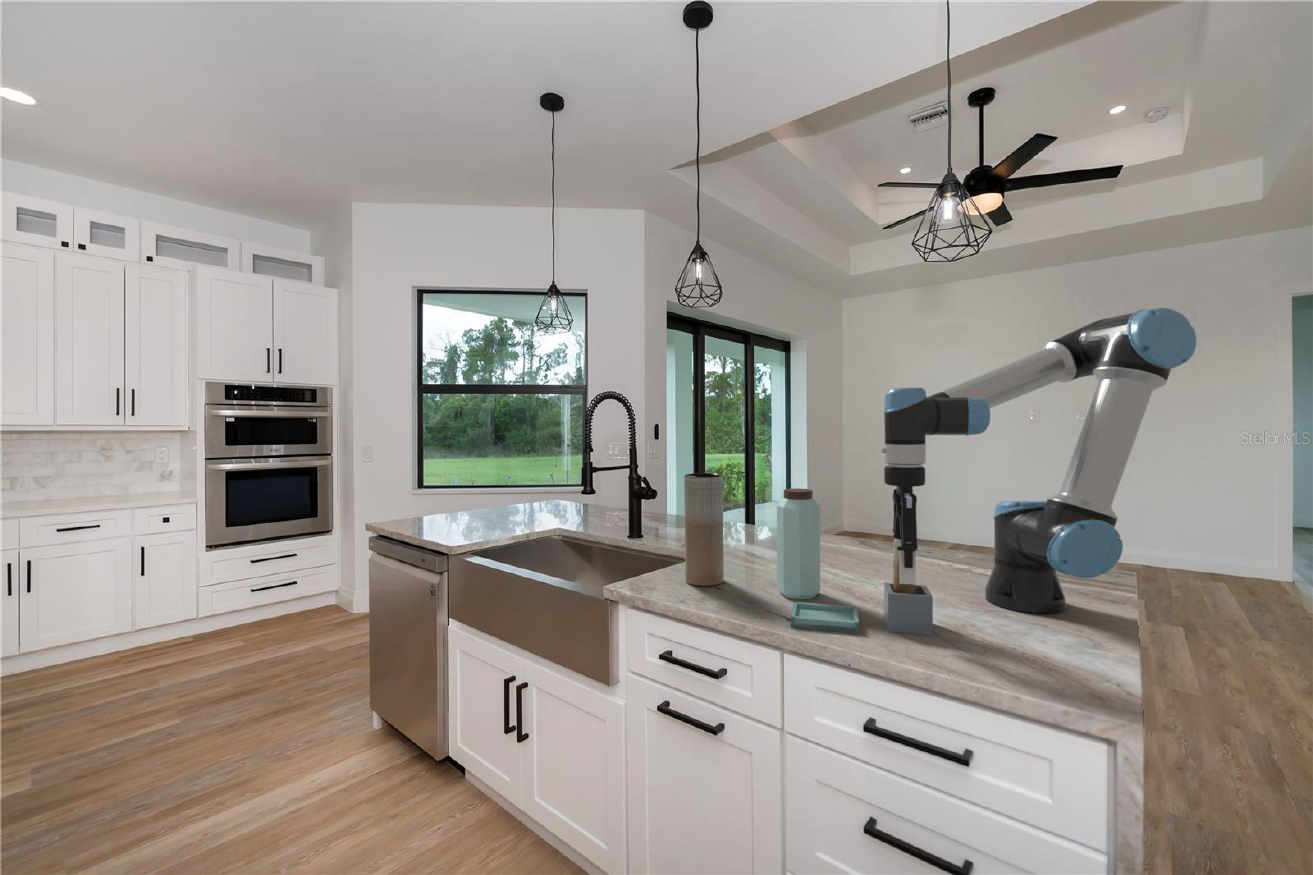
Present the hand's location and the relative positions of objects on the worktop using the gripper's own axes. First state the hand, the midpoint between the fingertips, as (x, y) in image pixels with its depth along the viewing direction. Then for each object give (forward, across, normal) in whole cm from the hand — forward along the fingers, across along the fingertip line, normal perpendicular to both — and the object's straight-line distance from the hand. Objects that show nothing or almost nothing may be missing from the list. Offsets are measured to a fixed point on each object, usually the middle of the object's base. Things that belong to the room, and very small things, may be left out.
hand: (904, 576), depth 115 cm
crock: (+10, 0, +1) cm, 10 cm away
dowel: (+10, 0, 0) cm, 10 cm away
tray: (+10, +2, -15) cm, 18 cm away
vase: (+10, -21, -45) cm, 51 cm away
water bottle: (+10, -16, -21) cm, 29 cm away
